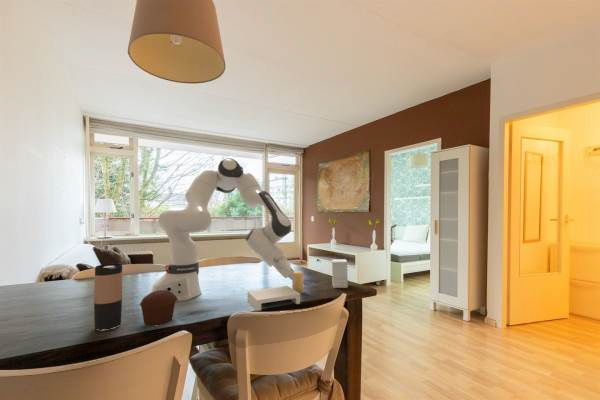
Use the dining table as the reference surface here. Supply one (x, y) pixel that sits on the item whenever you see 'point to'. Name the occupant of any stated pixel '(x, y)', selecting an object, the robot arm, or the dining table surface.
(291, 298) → the white bridge block
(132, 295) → the dining table surface
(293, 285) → the tan rectangular block
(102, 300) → the travel mug
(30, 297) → the dining table surface
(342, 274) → the supplement box
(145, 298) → the muffin
